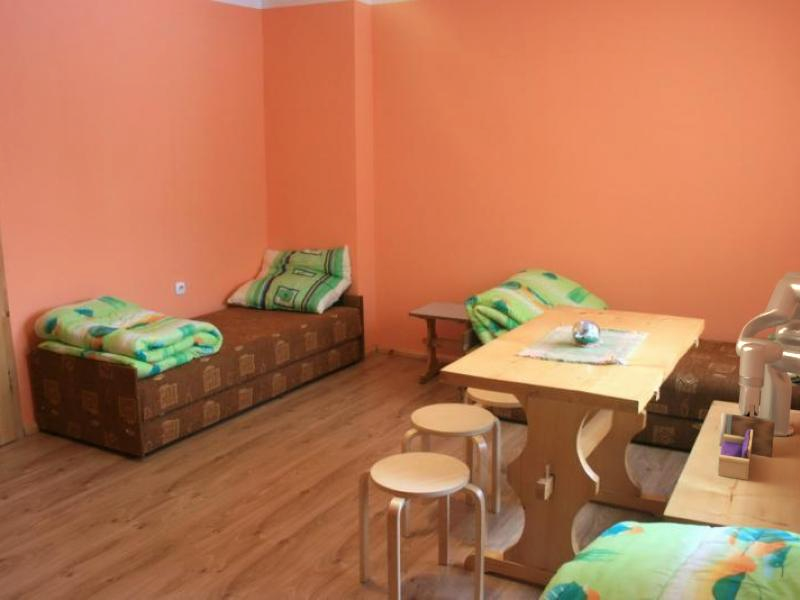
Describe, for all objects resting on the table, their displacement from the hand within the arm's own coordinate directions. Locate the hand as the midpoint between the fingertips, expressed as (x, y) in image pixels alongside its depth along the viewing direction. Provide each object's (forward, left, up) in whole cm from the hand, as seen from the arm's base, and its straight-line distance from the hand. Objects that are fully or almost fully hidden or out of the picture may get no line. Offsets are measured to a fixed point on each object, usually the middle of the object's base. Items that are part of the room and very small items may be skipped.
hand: (748, 433), depth 240 cm
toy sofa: (+14, -15, -5) cm, 21 cm away
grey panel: (+3, -3, -4) cm, 6 cm away
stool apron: (+6, -4, -4) cm, 8 cm away
